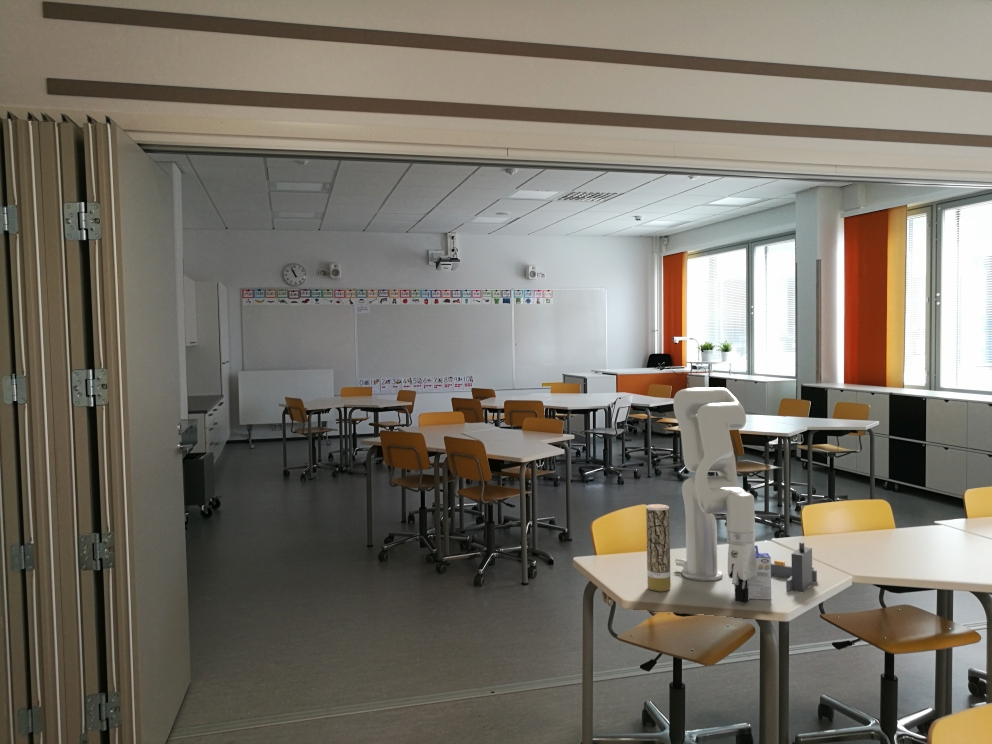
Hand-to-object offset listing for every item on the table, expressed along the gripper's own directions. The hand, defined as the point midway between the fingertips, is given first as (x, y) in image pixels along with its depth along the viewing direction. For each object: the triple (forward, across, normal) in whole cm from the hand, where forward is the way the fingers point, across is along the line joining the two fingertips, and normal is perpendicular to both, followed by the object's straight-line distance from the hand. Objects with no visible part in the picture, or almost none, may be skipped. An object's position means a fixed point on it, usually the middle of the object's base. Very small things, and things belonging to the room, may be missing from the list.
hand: (741, 601), depth 201 cm
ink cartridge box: (+1, +9, 0) cm, 9 cm away
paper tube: (+1, -1, +25) cm, 25 cm away
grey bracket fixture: (+1, +26, -2) cm, 26 cm away
